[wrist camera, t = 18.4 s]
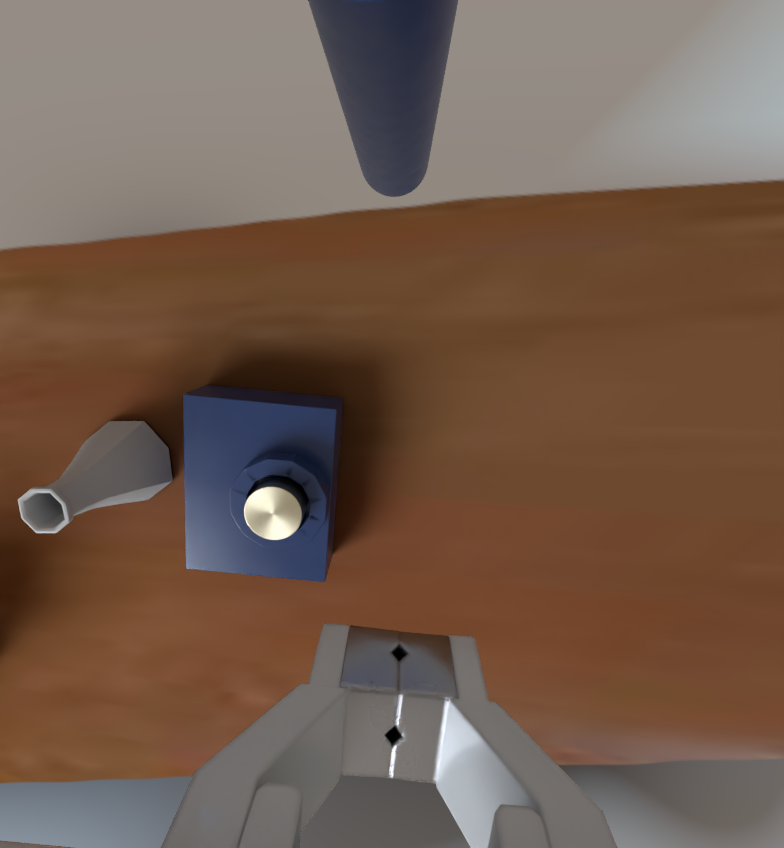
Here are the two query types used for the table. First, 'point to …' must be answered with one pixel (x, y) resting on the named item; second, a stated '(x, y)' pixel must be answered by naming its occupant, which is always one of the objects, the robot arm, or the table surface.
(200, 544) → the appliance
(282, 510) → the button
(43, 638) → the table surface
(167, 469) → the flask
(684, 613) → the table surface
